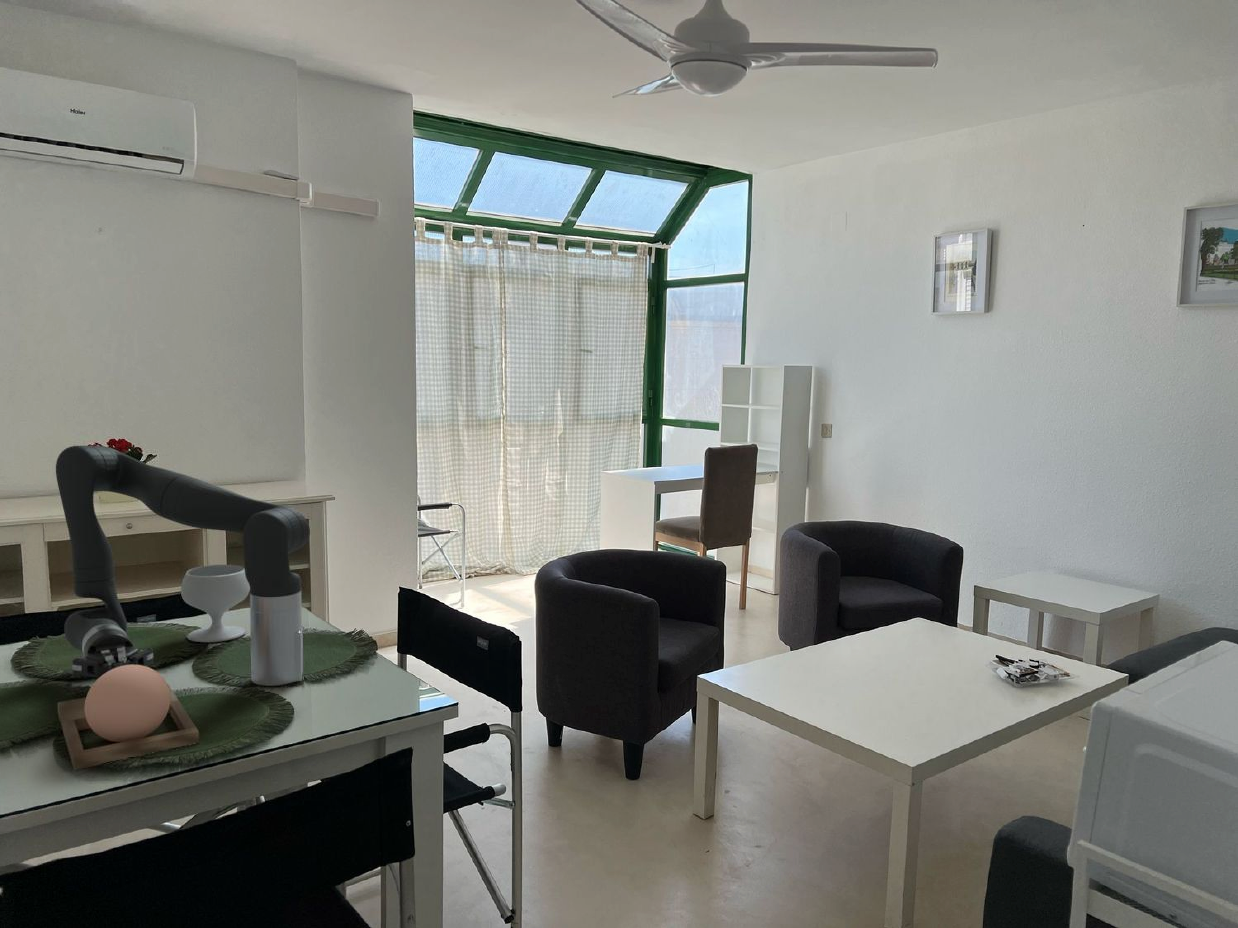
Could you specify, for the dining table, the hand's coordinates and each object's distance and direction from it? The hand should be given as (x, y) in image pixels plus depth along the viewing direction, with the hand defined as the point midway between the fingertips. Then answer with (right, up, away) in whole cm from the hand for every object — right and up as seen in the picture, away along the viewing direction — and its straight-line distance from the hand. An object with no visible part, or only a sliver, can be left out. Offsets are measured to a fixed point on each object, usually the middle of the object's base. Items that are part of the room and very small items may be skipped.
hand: (121, 674), depth 146 cm
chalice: (-7, -3, +49) cm, 49 cm away
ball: (+5, -3, -7) cm, 9 cm away
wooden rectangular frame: (+2, -8, -2) cm, 9 cm away
